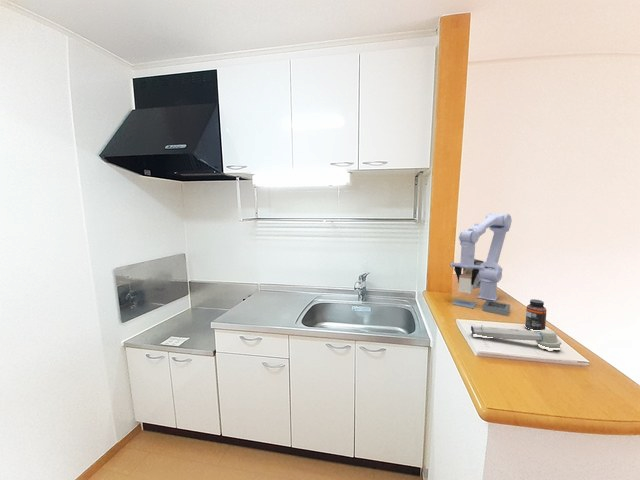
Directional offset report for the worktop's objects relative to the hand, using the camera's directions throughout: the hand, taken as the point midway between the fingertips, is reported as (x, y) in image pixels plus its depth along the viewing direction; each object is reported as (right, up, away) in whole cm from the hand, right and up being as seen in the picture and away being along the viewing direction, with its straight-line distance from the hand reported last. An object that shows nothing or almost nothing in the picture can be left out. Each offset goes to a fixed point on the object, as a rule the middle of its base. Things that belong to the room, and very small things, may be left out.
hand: (465, 283), depth 129 cm
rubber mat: (0, -10, +1) cm, 10 cm away
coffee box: (+21, -7, +33) cm, 40 cm away
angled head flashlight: (-4, -15, -37) cm, 40 cm away
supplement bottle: (+12, -13, -27) cm, 32 cm away
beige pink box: (0, -4, 0) cm, 4 cm away
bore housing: (+10, -11, -7) cm, 17 cm away
